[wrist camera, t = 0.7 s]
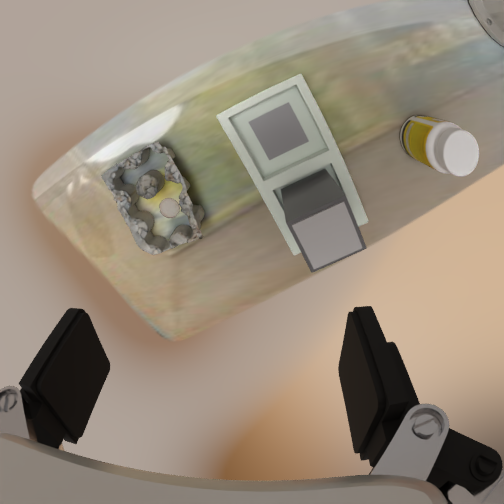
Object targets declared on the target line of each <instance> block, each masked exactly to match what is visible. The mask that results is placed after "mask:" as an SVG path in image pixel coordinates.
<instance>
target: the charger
mask: <svg viewBox="0 0 504 504" xmlns="http://www.w3.org/2000/svg"><path fill="white" fill-rule="evenodd" d="M281 195H282V201H283V207H284V214H285V220H286V224H287V226H288V228H289V230H290V231H291V233H292V235H293V237H294V239H295V241H296V243H297V245H298V247H299V249H300V251H301V253H302V255H303V257H304V259H305V261H306V262H307V264H308V266H309V268H310V270H311V272H314V271H317V270H319V269H321V268H324V267H326V266H328V265H331V264H333V263H335V262H337V261H340V260H342V259H344V258H346V257H349V256H351V255H353V254H355V253H357V252H360V251H362V250H364V249H366V245H365V243H364V240H363V237H362V235H361V232H360V230H359V227H358V224H357V222H356V219H355V217H354V214H353V212H352V209H351V207H350V205H349V202H348V200H347V197H346V195H345V194H344V192H343V191H342V190H341V188H340V187H339V186H338V185H337V183H336V182H335V181H334V179H333V178H332V177H331V175H330V174H329V173H328V172H327V170H326V169H323V170H320V171H318V172H316V173H314V174H312V175H310V176H308V177H305V178H303V179H301V180H299V181H297V182H295V183H293V184H290V185H288V186H286V187H284V188H282V189H281Z"/></svg>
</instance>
